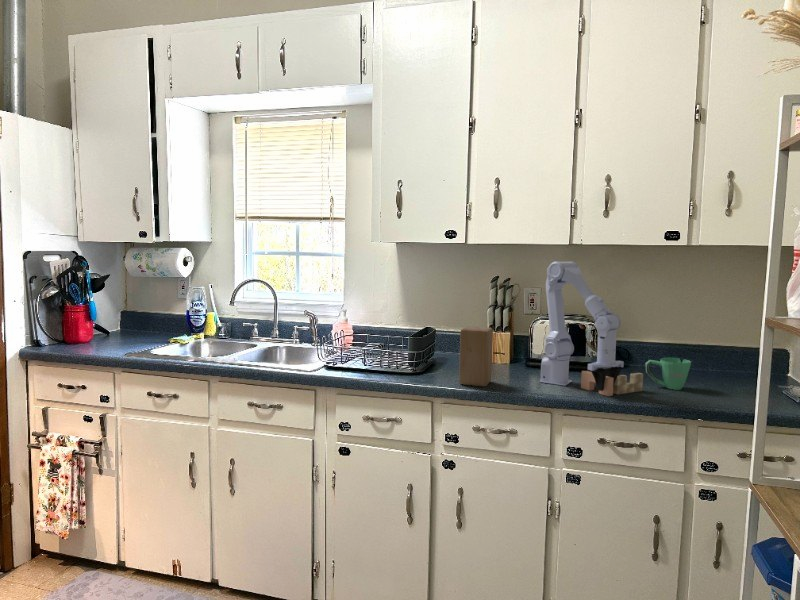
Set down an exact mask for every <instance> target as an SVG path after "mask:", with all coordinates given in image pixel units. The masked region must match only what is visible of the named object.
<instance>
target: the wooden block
mask: <svg viewBox="0 0 800 600" xmlns="http://www.w3.org/2000/svg"><path fill="white" fill-rule="evenodd" d="M493 331H494V330H493V328H492V327H487V326H471V325H467V326H465V327H464V328H462V329H460V332H459V333H460V334H459V366H458V367H459V368H458V369H459V370H458V374H459V375H458V382H459V384H460V385H462V384H463V385H462V386H471V385H472V387H482V388H484V387H487V386H488V385H489V383H491V381H492V370H493V364H492V363H493V336H494V332H493Z"/></svg>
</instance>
